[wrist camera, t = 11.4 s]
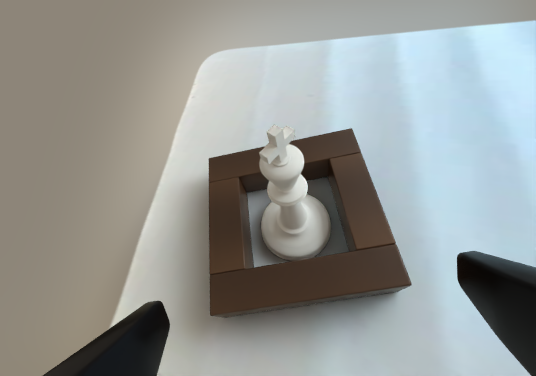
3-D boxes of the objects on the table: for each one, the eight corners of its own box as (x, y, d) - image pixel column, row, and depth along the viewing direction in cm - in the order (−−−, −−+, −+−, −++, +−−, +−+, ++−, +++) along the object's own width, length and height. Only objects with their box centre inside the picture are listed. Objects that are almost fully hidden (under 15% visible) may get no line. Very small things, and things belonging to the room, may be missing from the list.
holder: (399, 291, 15) (412, 285, 13) (224, 317, 16) (209, 316, 14) (348, 149, 21) (352, 127, 18) (219, 175, 22) (208, 158, 19)
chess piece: (247, 232, 19) (187, 145, 10) (290, 184, 20) (269, 72, 11) (301, 276, 16) (282, 214, 8) (345, 220, 18) (370, 114, 9)
